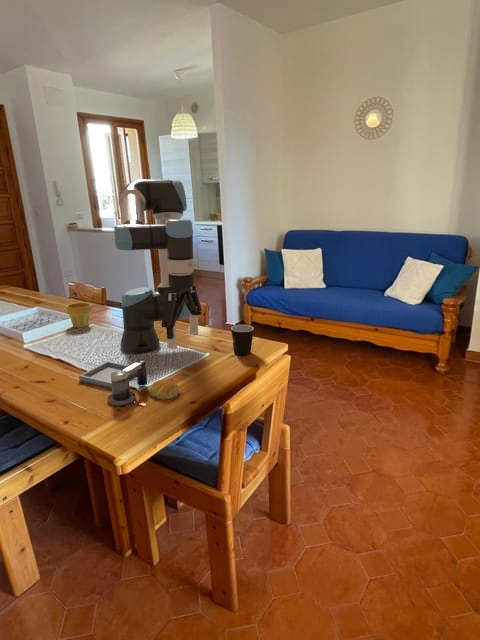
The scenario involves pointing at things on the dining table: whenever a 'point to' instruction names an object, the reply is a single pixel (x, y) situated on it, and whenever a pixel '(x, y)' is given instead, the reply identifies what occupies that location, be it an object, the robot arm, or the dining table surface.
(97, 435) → the dining table surface
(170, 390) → the bread roll
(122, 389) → the crank hub
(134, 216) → the robot arm
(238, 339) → the coffee mug
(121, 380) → the crank
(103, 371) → the tray
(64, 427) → the dining table surface
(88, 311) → the plant pot
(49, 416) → the dining table surface
